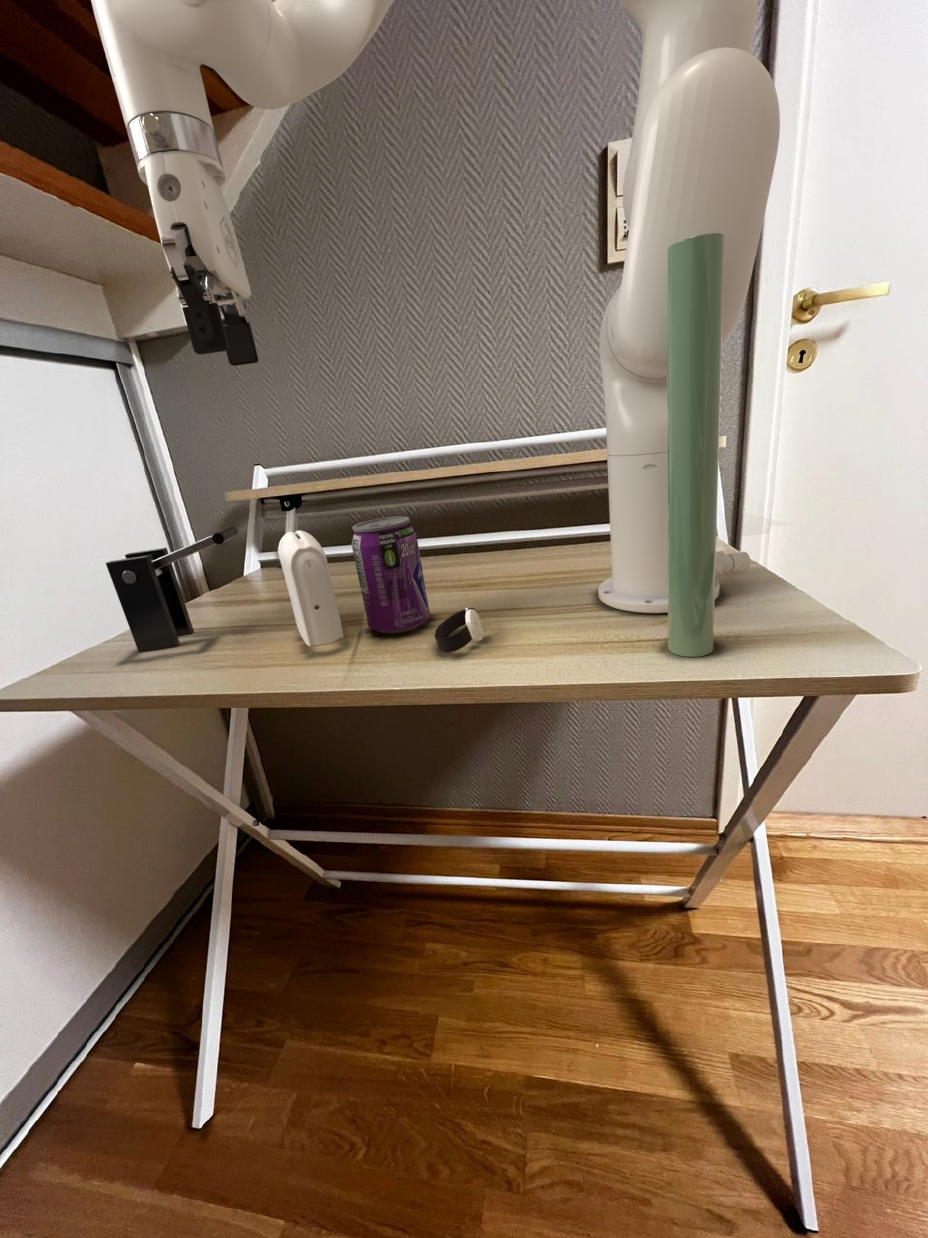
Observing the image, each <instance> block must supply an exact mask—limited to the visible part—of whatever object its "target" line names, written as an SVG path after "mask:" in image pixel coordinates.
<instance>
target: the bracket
mask: <svg viewBox="0 0 928 1238" xmlns="http://www.w3.org/2000/svg"><path fill="white" fill-rule="evenodd" d="M151 554H152V555H153V557H154V558H155V560H156V559H158V558H160V557H163V556H165V555H167V554H169V551H168V548H167V547H161V548H154V549H148V550H140V551H134V552H129V553H126V554H124V556H125V558H122V559H121V558H120V559H115V560H114V559H113V560H109V561H107V562H105V566H106V569H107V571H108V575H109V576H110V579H111V583H112V584H113V587H114V590H115V592H116V595H117V598H118V600H119V604H120V606H121V608H122V611H123V614H124V616H125V617H124V618H125V620H126V622H127V624H128V627H129V629H130V633H131V635H132V638H133V641H134V644H135V647H136V649H137V652H138V654H142V653H146V652H153V651H161V650H169V649H175V648H178V647H179V646H180V645H181V641H180V639H179V637H185V636H186V637H187V636H191V635H193V634H194V633H195V630H194V627H193V623H192V620H191V618H190V615H189V612H188V608H187V605H186V603H185V599H184V596H183V593H182V590H181V588H180V585H179V581H178V578H177V575H176V572H175V569H174V566H173V563H171V564H168V565H166V566H164V567H161V569H162V571H163V573H162V574H160V575H159V576H157V575H156V572H155V569H154V566H153V563H152V560H151V557H150V556H149V555H151Z"/></svg>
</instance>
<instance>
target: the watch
mask: <svg viewBox="0 0 928 1238" xmlns="http://www.w3.org/2000/svg"><path fill="white" fill-rule="evenodd" d="M461 627H463V628H462V629H461V630H459V631H458V632H456V633H454V632H455V631H457V630H458V629H459V628H461ZM453 633H454V634H453ZM452 634H453V635H452ZM434 638H435V641H436V644H437V646H438V648H439V650H440V652H442V653H446V654H449V653H453V652H456V651H459V650H461V649H463V648H464V647H466V646H467V645H468V644H470V643H471V642H472V641H474V642H479V641H481V640H482V639H483V638H484V628H483V624H482V621H481V618H480V616H479V614H478V611H476V608H475V607H465V608H464V609H462V610H460V611H458V612H457V611H456V612H455V613H454V614H452V615H450V616H449V617H448V618H446V619H445V620H444V621H443V622H441V623H440V624H439V625H437V627H436V629H435V631H434Z"/></svg>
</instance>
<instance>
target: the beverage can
mask: <svg viewBox="0 0 928 1238" xmlns="http://www.w3.org/2000/svg"><path fill="white" fill-rule="evenodd" d="M410 522H411V519H410V517H408V516H402V515H401V516H387V517H381V518H376V519H375V518H374V519H370V520H366V521H362V522H358V523H356V524H354V525H353V526H352V527H351V528H352V531H353V532H354V533H353V537H352V541H351V549H352V554H353V559H354V564H355V568H356V573H357V577H358V578H357V579H358V582H359V587H360V592H361V597H362V603H363V606H364V612H365V617H366V621H367V625H368V628H369V629H370V630H372V631H376V632H380V633H381V634H387V635H398V634H403V633H408V632H410V631H413V630H415V629H417V628H419V627H420V626H421V625H422V624H424V623H425V622H427V620H429V618H430V617H431V616H430V615H431V612H430V607H429V601H428V595H427V588H426V583H425V577H424V572H423V565H422V560H421V553H420V548H419V547H420V546H419V541H418V535H417V532H416V531H415V529H414V528H413V526H412V525H411V524H410Z"/></svg>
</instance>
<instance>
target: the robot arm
mask: <svg viewBox="0 0 928 1238" xmlns="http://www.w3.org/2000/svg"><path fill="white" fill-rule="evenodd" d="M395 1H396V0H274V1H272V0H90V2H91V6H92V7H91V8H92V11H93V15H94V18H95V22H96V25H97V29H98V32H99V33H98V34H99V36H100V40H101V44H102V47H103V51H104V53H105V58H106V61H107V65H108V68H109V72H110V75H111V79H112V83H113V87H114V90H115V94H116V97H117V100H118V105H119V108H120V110H121V114H122V118H123V123H124V125H125V128H126V131H127V132H126V133H127V136H128V139H129V144H130V147H131V150H132V155H133V158H134V161H135V164H136V168H137V172H138V176H139V178H140V180H141V181H142V182H143V183H144V184H145V185H146V186H147V189H148V192H149V196H150V198H149V199H150V203H151V206H152V211H153V216H154V219H155V224H156V227H157V231H158V235H159V240H160V243H161V246H162V250H163V254H164V257H165V261H166V264H167V266H168V269H169V273H170V275H171V278H172V279H173V280H174V282H175V284H176V286H177V288H176V289H177V291H176V293H177V294H176V295H177V299H178V301H179V304H180V305H181V306H182V307H181V309H182V313H183V316H184V320H185V323H186V327H187V332H188V334H189V338H190V342H191V346H192V350H193V352H194V353H195V354H197V355H199V356H200V355H202V356H203V355H207V354H214V353H215V354H216V353H222V352H225V353H226V357H227V361H228V363H229V365H230V366H233V367H236V366H244V365H252V364H257V363H259V355H258V351H257V347H256V342H255V338H254V334H253V330H252V326H251V323H250V318H249V315H248V313H247V306H246V304H245V303H244V302H243V299H244V300H249V299H250V298H251V296H252V290H251V286H250V282H249V278H248V275H247V274H248V273H247V271H246V267H245V265H244V264H245V263H244V260H243V255H242V253H241V248H240V245H239V242H238V238H237V235H236V231H235V228H234V224H233V221H232V217H231V214H230V211H229V208H228V205H227V202H226V199H225V197H224V194H223V192H222V188H221V187H222V186H223V185H224V183H225V182H226V175H225V171H224V166H223V162H222V158H221V154H220V150H219V145H218V141H217V136H216V133H215V128H214V124H213V120H212V115H211V112H210V111H211V110H210V108H209V107H210V106H209V102H208V98H207V94H206V89H205V85H204V81H203V77H202V72H201V68H200V66H202V65H204V66H207V67H208V68H210V69H213V70H214V71H215V72H216V73H217V74H218V75H219V76H220V78H221V79H222V80H223V81H224V82H225V84H227V85H228V87H230V89H231V90H232V91H233V92H234V93H235V94H236V95H237V96H238V97H239V98H240V99H241V100H243V101H244V102H246V103H247V104H249V105H250V106H252V107H254V108H257V109H261V110H278V109H281V108H285V107H288V106H290V105H293V104H295V103H297V102H299V101H301V100H303V99H305V98H307V97H308V96H310V95H312V94H314V93H315V92H318V91H319V90H320V89H323V88H324V87H326V86H327V85H329V84H330V83H332V82H333V81H335V80H337V79H338V78H339V77H340V76H342V74H344V73H345V71H347V70H348V69H349V68H350V67H351V66H352V64H353V63H354V62H355V61H356V60H357V58H358V57H359V56H360V55H361V53H362V51H363V50H364V49H365V47H366V46H367V44H368V43H369V42H370V41H371V39H372V38H373V37H374V35H375V34H376V32H377V30H378V29H379V28H380V26H381V24H382V22H383V21H384V19H385V17H386V15H387V13H388V11H389V9H390V8H391V6H392V5H393V3H394V2H395ZM617 1H618V2H619V4H621V5H622V6H623V7H624V8H625V9H626V10H627V11H628V12H629V13H630V14H631V16H632V17H633V18H634V20H635V22H636V24H637V25H638V27H639V30H640V34H641V39H642V40H641V41H642V51H641V52H642V53H641V60H640V69H639V84H638V93H637V100H636V108H635V115H634V123H633V127H632V128H633V129H632V136H631V143H630V150H629V154H628V155H629V156H628V159H627V162H626V163H627V164H626V168H625V172H624V178H623V184H622V185H623V186H622V207H623V215H624V219H625V223H626V225H627V228H628V233H627V235H628V236H627V241H626V249H625V255H624V256H625V257H624V263H623V268H622V269H623V270H622V278H621V283H620V285H619V286H618V287H617V289H616V290H615V292H614V293H613V294H612V296H611V298H610V300H609V301H608V303H607V306H606V308H605V311H604V312H603V313H604V314H603V317H602V319H601V326H600V329H599V331H600V332H599V361H600V362H599V363H600V372H601V373H600V374H601V380H602V390H603V401H604V411H605V413H604V415H605V433H606V459H607V463H606V464H607V484H608V487H607V488H608V510H609V511H608V513H609V534H610V557H611V559H610V560H611V577H609V578H607V579H605V580H604V581H602V582H601V583H600V584H599V585H598V599H599V600H600V601H601V602H602V604H605V605H607V606H608V607H611V608H614V609H617V610H621V611H626V612H631V613H640V614H641V613H642V614H665V613H666V614H668V496H667V248H668V247H669V246H670V245H672V244H674V243H676V242H678V241H681V240H683V239H686V238H690V237H693V236H697V235H702V234H708V233H722V234H724V235H725V247H724V283H723V319H722V348H723V347H724V345H725V344H726V343H727V342H728V341H729V339H730V337H731V336H732V334H733V332H734V331H735V329H736V327H737V324H738V322H739V320H740V318H741V314H742V312H743V309H744V306H745V303H746V299H747V295H748V293H749V292H748V291H749V287H750V283H751V279H752V275H753V270H754V266H755V262H756V256H757V251H758V247H759V243H760V238H761V233H762V228H763V225H764V219H765V214H766V210H767V205H768V200H769V196H770V190H771V186H772V181H773V177H774V171H775V165H776V161H777V157H778V149H779V142H780V135H781V134H780V132H781V114H780V103H779V97H778V93H777V89H776V87H775V86H776V85H775V83H774V81H773V79H772V76H771V74H770V72H769V71H768V70H767V68H766V66H764V64H763V63H762V62H761V61H760V60H759V59H758V58H757V57H756V56H755V55H753V54H752V53H753V45H754V40H755V31H756V24H757V16H758V3H759V0H617ZM224 306H225V308H224ZM750 566H751V557H750V555H749V553H748V552H747V551H740V552H739V551H738V552H733V553H728V554H725V551H724V550H719V551H716V569H715V600H716V599H717V598H718V597H720V582H719V581H718V580H717V579H716V577H720V576H721V574H722V573H723V572H736V571H737V572H738V571H744V570H748V569H749V568H750Z"/></svg>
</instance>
